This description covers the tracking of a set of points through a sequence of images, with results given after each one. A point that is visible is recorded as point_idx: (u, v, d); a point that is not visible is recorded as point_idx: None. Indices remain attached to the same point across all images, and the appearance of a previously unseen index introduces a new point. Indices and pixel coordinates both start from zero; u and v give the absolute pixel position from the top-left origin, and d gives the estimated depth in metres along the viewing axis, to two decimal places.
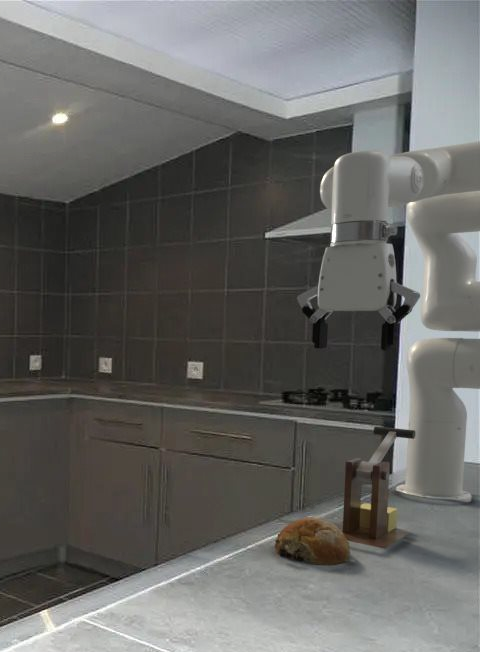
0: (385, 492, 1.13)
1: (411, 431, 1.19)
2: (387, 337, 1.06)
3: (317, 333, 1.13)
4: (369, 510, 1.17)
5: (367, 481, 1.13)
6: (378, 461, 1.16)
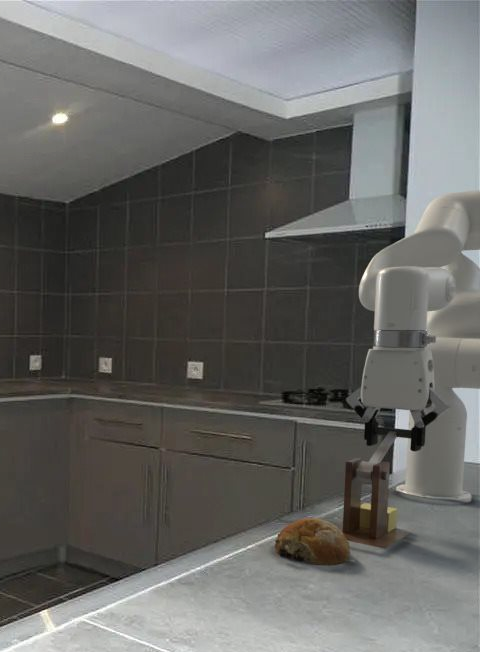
0: (385, 492, 1.13)
1: None
2: (416, 440, 1.18)
3: (369, 432, 1.23)
4: (369, 510, 1.17)
5: (367, 481, 1.13)
6: (378, 461, 1.16)
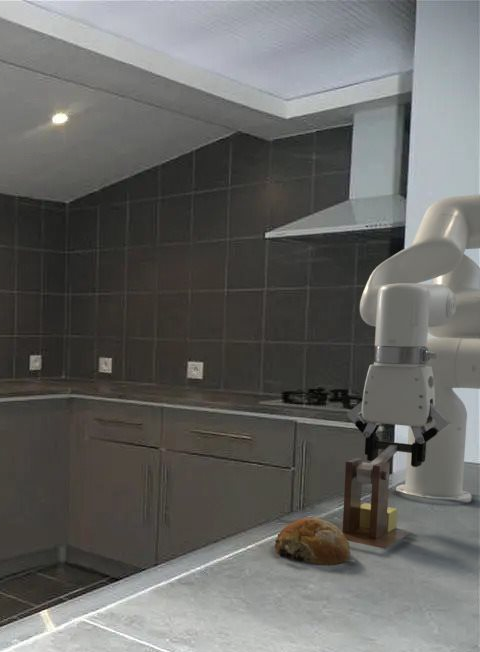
0: (385, 492, 1.13)
1: None
2: (417, 455, 1.18)
3: (370, 447, 1.23)
4: (369, 510, 1.17)
5: (367, 480, 1.13)
6: None
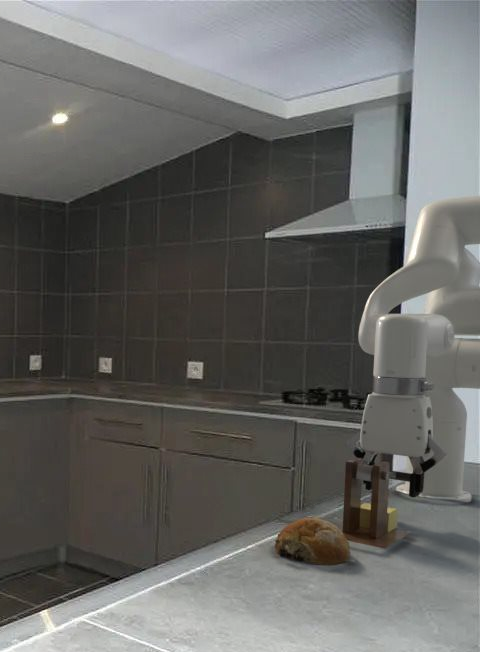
0: (385, 492, 1.13)
1: None
2: (415, 486, 1.19)
3: None
4: (369, 510, 1.17)
5: (366, 477, 1.13)
6: None
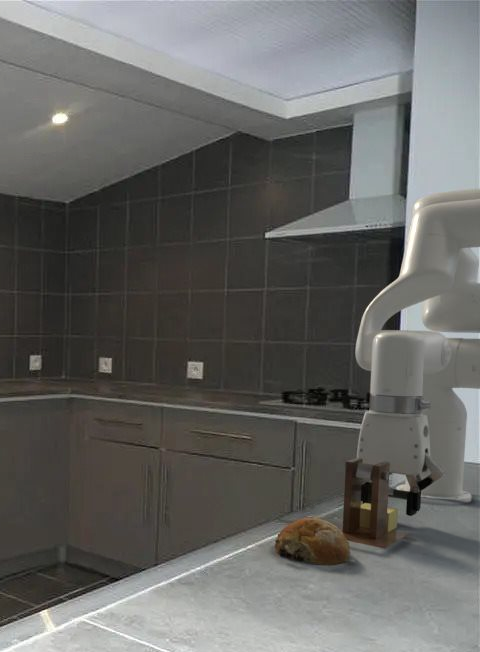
0: (385, 492, 1.13)
1: (409, 491, 1.20)
2: (412, 504, 1.18)
3: (365, 494, 1.23)
4: (369, 510, 1.17)
5: (366, 474, 1.13)
6: None
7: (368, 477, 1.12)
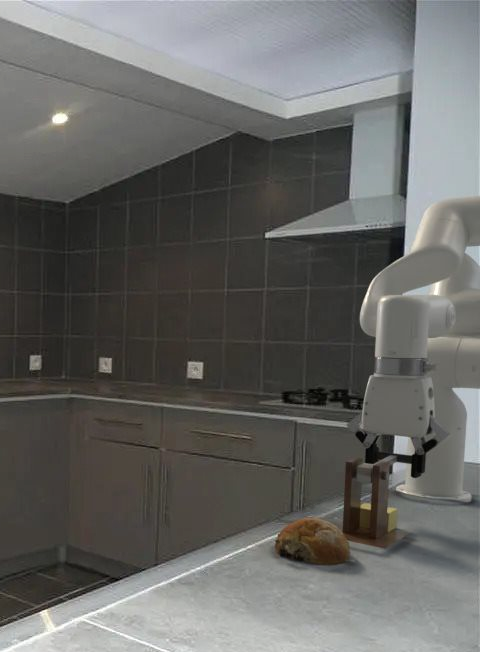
0: (385, 492, 1.13)
1: None
2: (416, 466, 1.19)
3: (370, 458, 1.24)
4: (369, 510, 1.17)
5: (366, 479, 1.13)
6: None
7: (369, 481, 1.13)
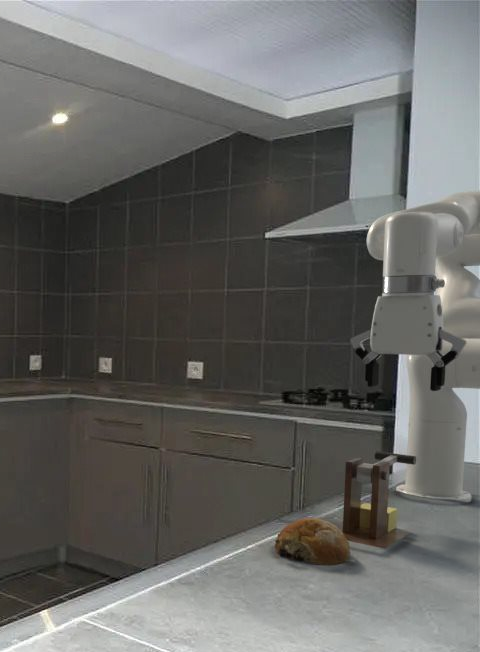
0: (385, 492, 1.13)
1: (412, 456, 1.20)
2: (436, 379, 1.18)
3: (370, 373, 1.25)
4: (369, 510, 1.17)
5: (366, 479, 1.13)
6: None
7: (369, 481, 1.13)
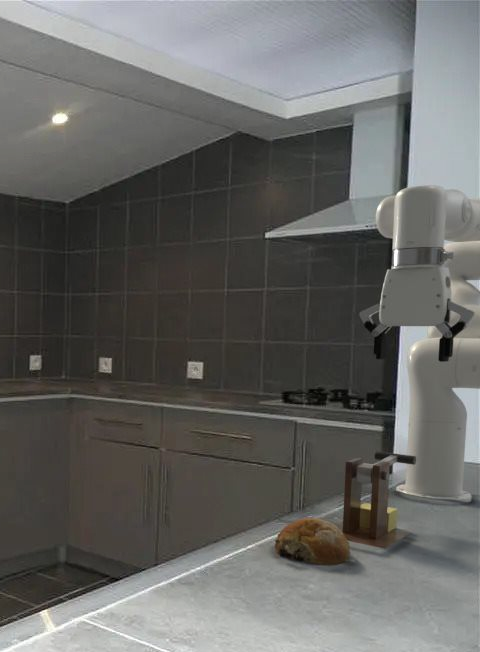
0: (385, 492, 1.13)
1: (412, 456, 1.20)
2: (444, 350, 1.20)
3: (379, 346, 1.27)
4: (369, 510, 1.17)
5: (366, 479, 1.13)
6: None
7: (369, 481, 1.13)
